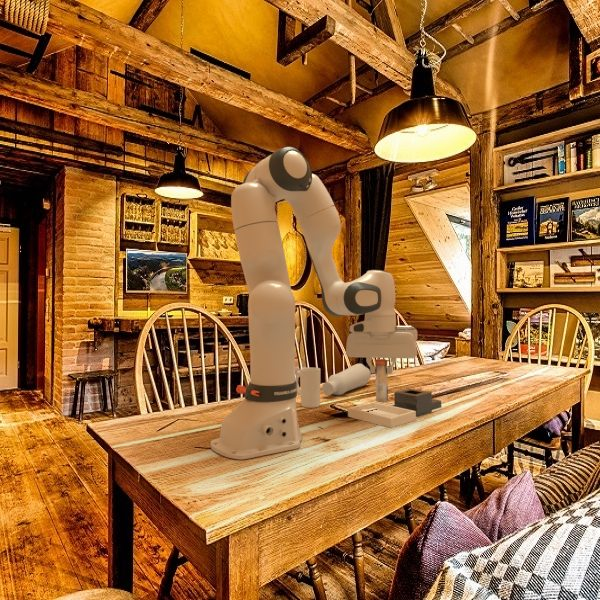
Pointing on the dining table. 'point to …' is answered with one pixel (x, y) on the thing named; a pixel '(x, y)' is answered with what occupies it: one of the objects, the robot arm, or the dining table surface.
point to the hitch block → (416, 401)
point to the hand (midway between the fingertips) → (381, 373)
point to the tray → (382, 414)
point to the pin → (381, 380)
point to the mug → (309, 387)
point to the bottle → (347, 380)
